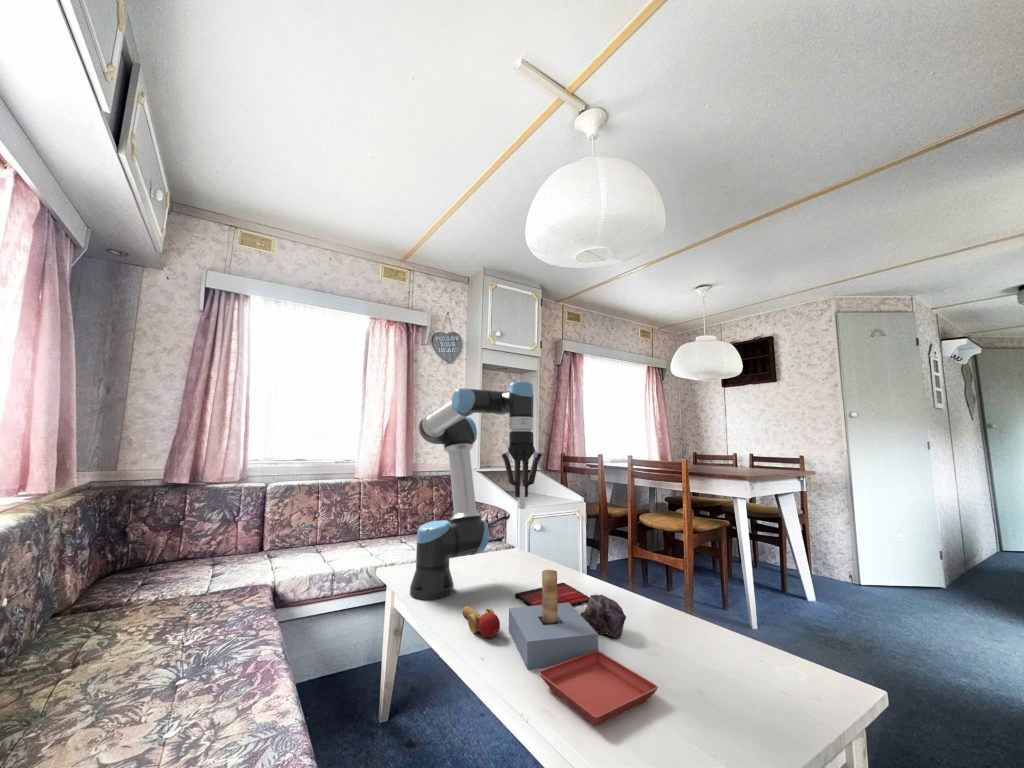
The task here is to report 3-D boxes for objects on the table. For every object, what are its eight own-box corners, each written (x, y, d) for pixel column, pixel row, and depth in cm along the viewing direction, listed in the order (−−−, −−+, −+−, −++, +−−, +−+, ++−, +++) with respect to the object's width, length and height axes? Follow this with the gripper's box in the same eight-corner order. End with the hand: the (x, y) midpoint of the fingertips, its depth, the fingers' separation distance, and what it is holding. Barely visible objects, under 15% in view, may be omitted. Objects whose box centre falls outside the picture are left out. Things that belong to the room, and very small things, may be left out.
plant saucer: (597, 663, 98) (596, 648, 99) (660, 703, 83) (659, 685, 84) (537, 687, 88) (537, 671, 89) (596, 738, 73) (596, 717, 74)
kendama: (452, 624, 121) (479, 640, 106) (455, 601, 123) (482, 613, 108) (476, 624, 124) (505, 639, 110) (478, 601, 127) (507, 613, 112)
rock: (612, 648, 107) (630, 634, 114) (615, 616, 107) (633, 604, 114) (575, 627, 115) (595, 615, 122) (578, 597, 115) (597, 587, 122)
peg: (540, 641, 108) (539, 570, 110) (555, 639, 109) (554, 569, 111) (545, 649, 104) (544, 575, 106) (560, 647, 105) (559, 573, 107)
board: (508, 630, 114) (508, 607, 115) (569, 624, 118) (568, 602, 119) (527, 669, 95) (527, 641, 96) (598, 660, 99) (598, 633, 100)
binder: (514, 592, 138) (563, 581, 149) (514, 599, 138) (563, 588, 149) (542, 611, 125) (593, 597, 136) (542, 619, 124) (593, 605, 135)
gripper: (503, 430, 123) (503, 511, 119) (544, 430, 126) (545, 509, 122) (498, 431, 130) (498, 507, 127) (537, 431, 133) (538, 505, 130)
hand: (521, 508), depth 125 cm, fingers closed
